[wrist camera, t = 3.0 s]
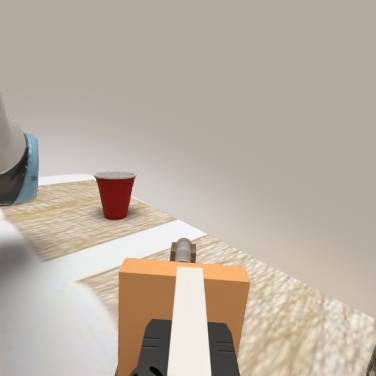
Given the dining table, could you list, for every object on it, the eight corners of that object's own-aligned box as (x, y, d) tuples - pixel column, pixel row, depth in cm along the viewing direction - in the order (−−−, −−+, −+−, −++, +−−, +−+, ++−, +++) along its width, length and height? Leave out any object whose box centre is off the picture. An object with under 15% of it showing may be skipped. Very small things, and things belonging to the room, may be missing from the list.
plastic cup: (128, 206, 75) (128, 167, 72) (141, 219, 66) (143, 176, 63) (90, 211, 69) (89, 168, 66) (99, 226, 60) (98, 178, 57)
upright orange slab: (229, 402, 22) (250, 282, 19) (117, 394, 22) (118, 271, 19) (226, 379, 24) (244, 267, 21) (123, 372, 24) (125, 257, 21)
